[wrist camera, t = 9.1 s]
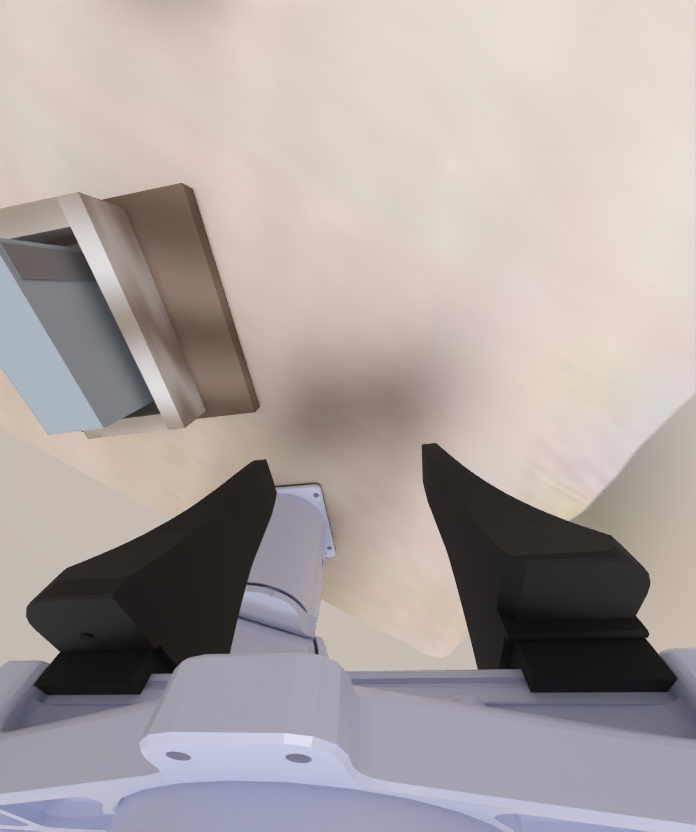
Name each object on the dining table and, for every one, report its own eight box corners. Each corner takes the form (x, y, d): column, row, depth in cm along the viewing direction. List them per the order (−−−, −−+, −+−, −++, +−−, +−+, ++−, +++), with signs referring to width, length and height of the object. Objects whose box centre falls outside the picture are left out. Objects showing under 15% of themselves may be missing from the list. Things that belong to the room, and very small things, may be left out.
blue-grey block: (173, 390, 20) (105, 428, 15) (129, 396, 21) (46, 434, 15) (113, 253, 16) (-10, 235, 11) (59, 263, 17) (-84, 251, 11)
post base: (259, 406, 22) (240, 429, 18) (92, 426, 23) (45, 450, 20) (192, 188, 16) (144, 161, 12) (-26, 234, 17) (-122, 220, 14)
